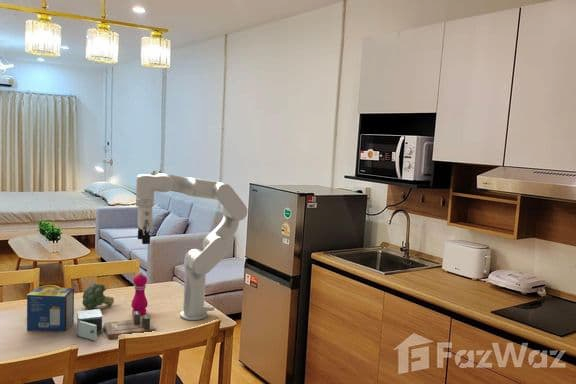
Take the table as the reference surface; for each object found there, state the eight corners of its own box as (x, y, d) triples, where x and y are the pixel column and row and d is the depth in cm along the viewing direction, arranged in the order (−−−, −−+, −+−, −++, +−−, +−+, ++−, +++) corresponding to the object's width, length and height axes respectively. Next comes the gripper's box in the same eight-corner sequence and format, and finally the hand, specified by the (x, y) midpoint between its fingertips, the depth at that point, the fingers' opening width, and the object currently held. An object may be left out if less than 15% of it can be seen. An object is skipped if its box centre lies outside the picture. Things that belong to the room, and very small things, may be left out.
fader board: (149, 321, 212) (150, 307, 211) (155, 333, 200) (156, 318, 200) (104, 327, 203) (104, 312, 202) (107, 339, 192) (108, 323, 191)
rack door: (96, 339, 190) (96, 324, 189) (92, 341, 188) (93, 326, 187) (78, 334, 193) (78, 319, 193) (74, 336, 192) (74, 321, 191)
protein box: (37, 321, 205) (37, 286, 203) (74, 322, 206) (74, 288, 204) (25, 331, 194) (26, 294, 193) (64, 332, 196) (65, 296, 194)
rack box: (99, 324, 205) (100, 309, 205) (102, 332, 197) (102, 316, 197) (77, 327, 201) (77, 311, 201) (78, 335, 193) (78, 319, 193)
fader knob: (138, 320, 207) (138, 310, 206) (140, 324, 203) (140, 314, 203) (132, 321, 206) (133, 311, 205) (134, 324, 202) (134, 314, 202)
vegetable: (119, 305, 223) (90, 296, 214) (103, 319, 227) (74, 311, 218) (119, 284, 232) (91, 275, 222) (104, 298, 236) (76, 290, 226)
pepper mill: (141, 309, 226) (142, 268, 224) (150, 313, 221) (151, 272, 219) (128, 313, 220) (129, 271, 218) (136, 317, 216) (138, 275, 214)
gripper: (158, 205, 200) (156, 245, 202) (149, 200, 215) (148, 237, 217) (139, 205, 196) (138, 246, 198) (132, 200, 211) (131, 237, 213)
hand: (143, 241), depth 207 cm, fingers open, 9 cm apart
